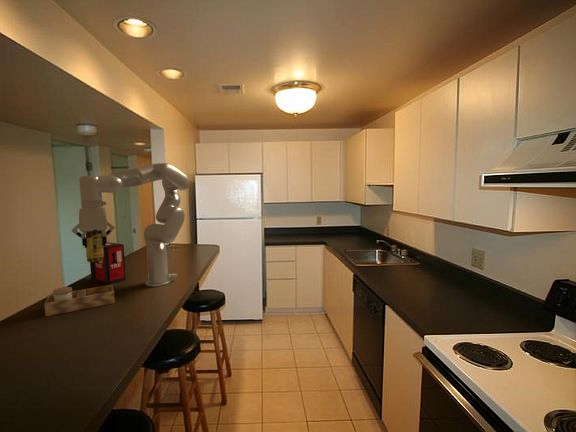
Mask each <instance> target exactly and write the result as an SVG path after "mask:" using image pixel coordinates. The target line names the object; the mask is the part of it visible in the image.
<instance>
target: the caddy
mask: <svg viewBox="0 0 576 432" xmlns="http://www.w3.org/2000/svg"><path fill="white" fill-rule="evenodd" d="M113 285H114V284H112V285H107V284H106V285H102V286H96V287H91V288H84V289H79V290H72V299H67V300H61V301H55V302H54V294H53V293H52V294H49V295H47V297H46V299H45V302H44V314H45V317H50V316H54V315H55V316H56V315H59V314H64V313H70V312H75V311H80V310H85V309H90V308H97V307H102V306H105V305H106V306H107V305H111V304H116V302H115V301H116V299H115V290H114V286H113Z"/></svg>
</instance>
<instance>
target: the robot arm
mask: <svg viewBox="0 0 576 432" xmlns="http://www.w3.org/2000/svg"><path fill="white" fill-rule="evenodd" d="M78 181H79V192H80V206H81V208H79V211H78V224H77V225H75V226H74V227H73V228H72V229H71V232H72V233H74V234H75V235H76V236H77V237H79V238H80V239H81V243H82V247H83V246H84V249H86V247H87V244H86V233H87V232H88V231H93V230H94V229H95V230H98V231H101V232H102V233H103V246H105V244H107V242H108V240H107V239H108V238H107V237H108V235H110V233H111V232H112V231H114V230H115V229H116V228H115V226H114V225H112V224H111V223H110V222H109V221H108V218H107V211H106V208H105V207H103V206H106V205H107V202H106V201H103V197H102V193H105V194H106V193H109V194H110V193H112V194H113V193H116V192H120V190H121V189H122V188H125V187H126V188H127V187H128V188H129V187H137V186H139V187H140V186H143V185H146V184H149V183H152V182H156V181H157V182H158V181H161V185H162V187H163V191H164V198H163V200H162V203H160V206H159V207H158V210H157V211H156V214H155V220H156V221H157V222H158V223H151V224H148V225H147V226H146V227H145V228H144V230H143V238H144V242H145V246H146V247H145V248H146V260H147V276H148V280H147V279H146V281H145V282H144V283H145V285H146V286H148V287H162V286H165V285H168V284H170V283H172V278H177V277H178V273H169V271H168V256H167V254H168V253H167V252H168V251H167V245H166V244H171V243H173V242H174V241H175V240H176V238H177V236H178V235H179V232H180V231H181V228H182V226H183V224H184V222H185V217H186V215H185V211H184V209H183V208H181V207H180V204H181V201H182V200H181V196H180V192H179V191H186V190H187V189H189V188H190V186H191V181H190V178H189V177H188V175H187V174H185V173H184V172H182V170H180V169H178V168H177V167H175V166H174V165H172V164H170V163H167V162H163V163H162V162H161V163H160V162H157V163H152V164H147V165H143V166H139V167H138V166H137V167H134V168H133V167H132V168H129V169H124V170H120V171H115V172H110V173H106V174H101V175H98V176H97V175H81V176H80V177H79V179H78ZM108 227H109V229H108ZM78 229H79V231H80V232H79V231H78Z"/></svg>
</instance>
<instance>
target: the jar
mask: <svg viewBox="0 0 576 432" xmlns="http://www.w3.org/2000/svg"><path fill="white" fill-rule="evenodd" d="M72 291H73V287H71V286H64V287H60V288H55V289H54V290H53V291H52V295H53V294H54V302H55V301H61V300H67V299H72Z"/></svg>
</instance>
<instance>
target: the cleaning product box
mask: <svg viewBox="0 0 576 432" xmlns="http://www.w3.org/2000/svg"><path fill="white" fill-rule="evenodd" d="M124 247H125V245H124V244H123V243H116V242H109V241H107V244H105V246H103V252H104V256H103V260H102V261H98V262H89V267H90V281H92V282H97V283H98V284H103V285H106V286H107V285H115V284H118V283H122V282H124V281H127V276H126V274H127V273H126V264H125V263H126V260H125V248H124Z"/></svg>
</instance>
